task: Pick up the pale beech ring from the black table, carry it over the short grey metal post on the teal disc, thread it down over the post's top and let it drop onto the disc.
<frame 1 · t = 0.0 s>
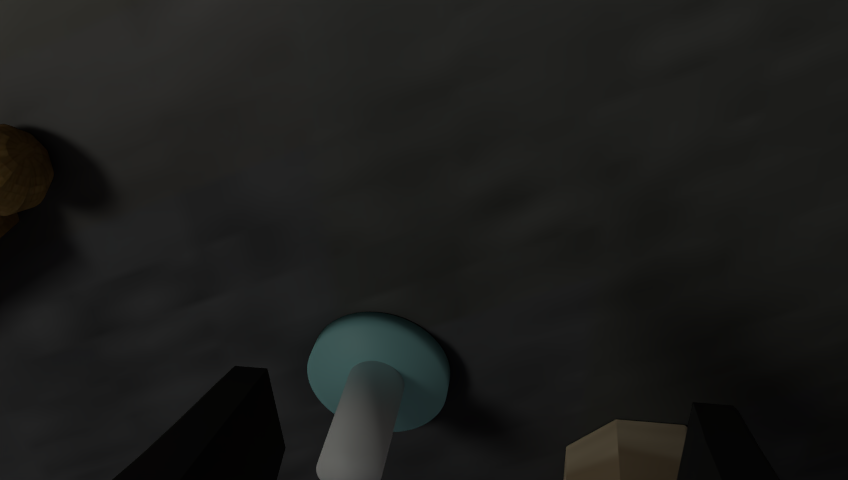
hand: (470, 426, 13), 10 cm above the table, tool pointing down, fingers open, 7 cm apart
post: (381, 366, 26), on the table
ring: (641, 474, 27), on the table
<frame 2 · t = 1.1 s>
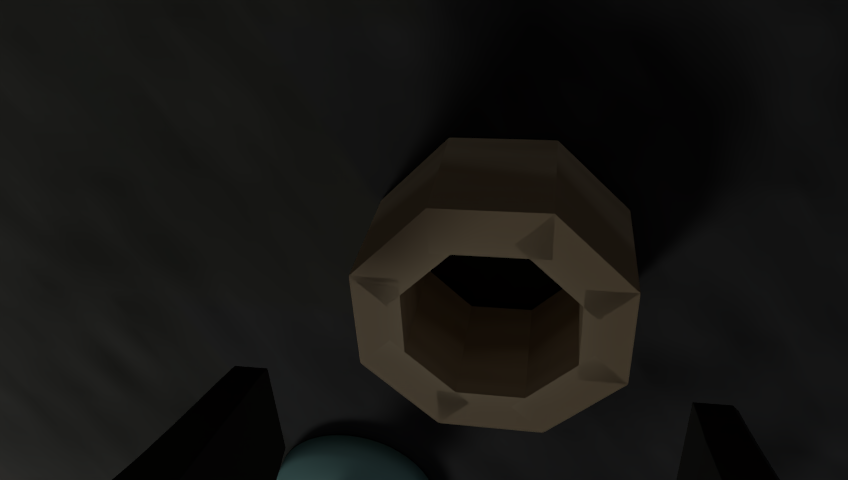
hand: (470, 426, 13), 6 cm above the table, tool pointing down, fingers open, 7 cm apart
ring: (501, 247, 17), on the table
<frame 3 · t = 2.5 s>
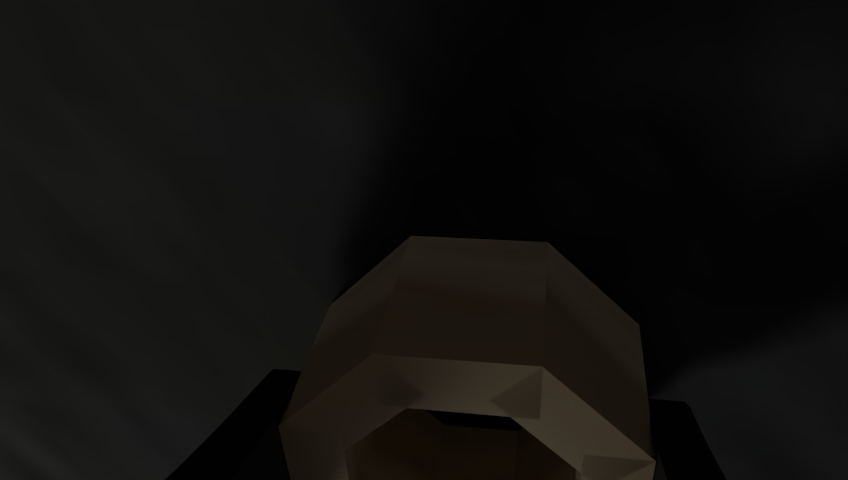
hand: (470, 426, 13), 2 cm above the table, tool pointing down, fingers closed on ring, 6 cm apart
ring: (480, 362, 14), on the table, touching gripper
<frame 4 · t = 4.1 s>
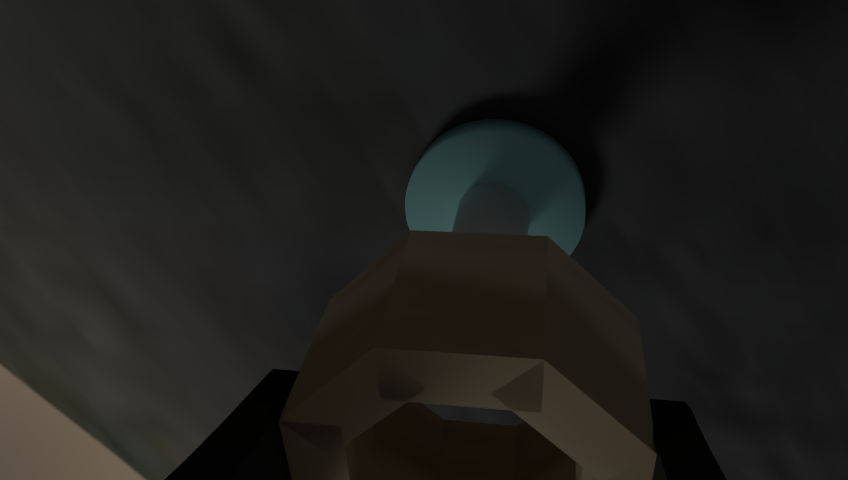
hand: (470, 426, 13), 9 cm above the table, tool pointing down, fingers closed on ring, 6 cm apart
post: (495, 199, 21), on the table
ring: (479, 356, 14), point 8 cm above the table, touching gripper
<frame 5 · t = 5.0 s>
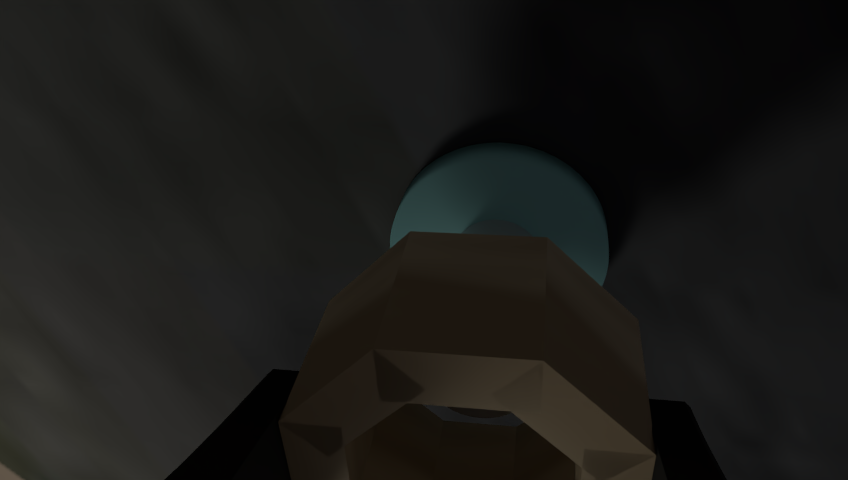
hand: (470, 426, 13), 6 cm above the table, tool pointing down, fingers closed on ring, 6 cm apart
post: (499, 237, 17), on the table
ring: (479, 357, 14), point 4 cm above the table, touching gripper
when the fingers open (5 cm above the table, at t = 5.8 s): ring drops 3 cm, resting on post.
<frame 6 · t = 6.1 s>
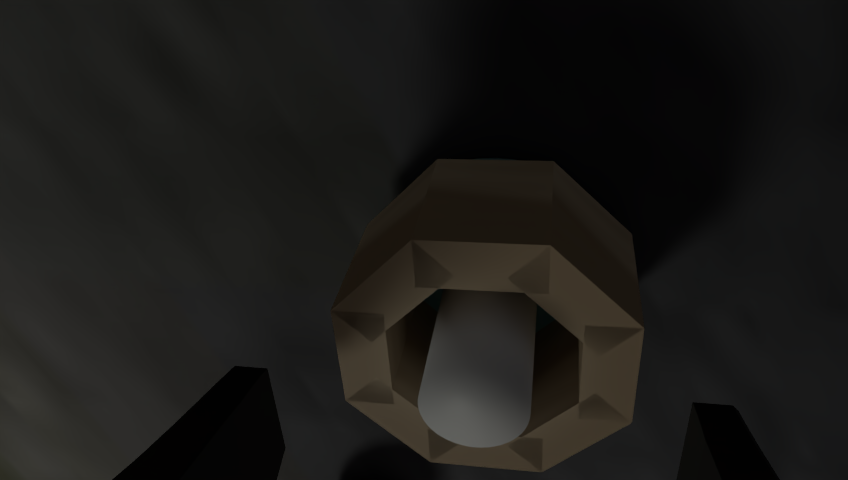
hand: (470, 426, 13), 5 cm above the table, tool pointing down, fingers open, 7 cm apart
post: (495, 255, 17), on the table
ring: (496, 273, 16), point 1 cm above the table, touching post
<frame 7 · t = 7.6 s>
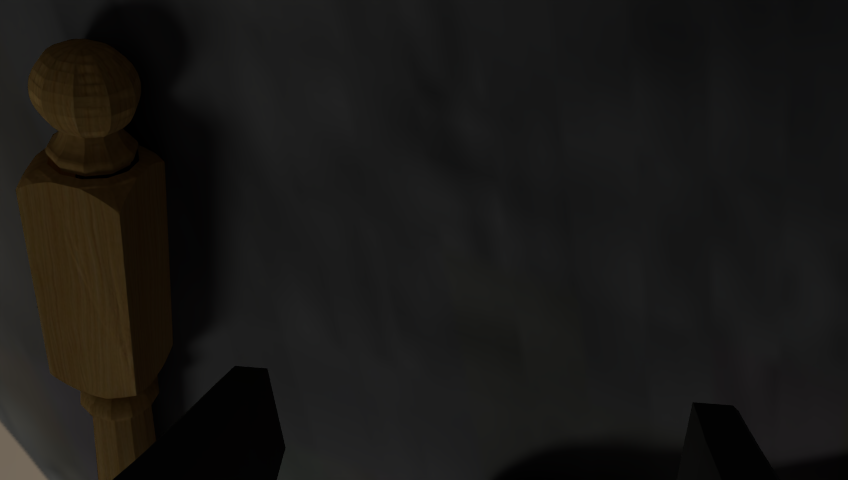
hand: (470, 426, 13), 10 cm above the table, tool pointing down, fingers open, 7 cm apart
tap handle: (144, 386, 29), on the table
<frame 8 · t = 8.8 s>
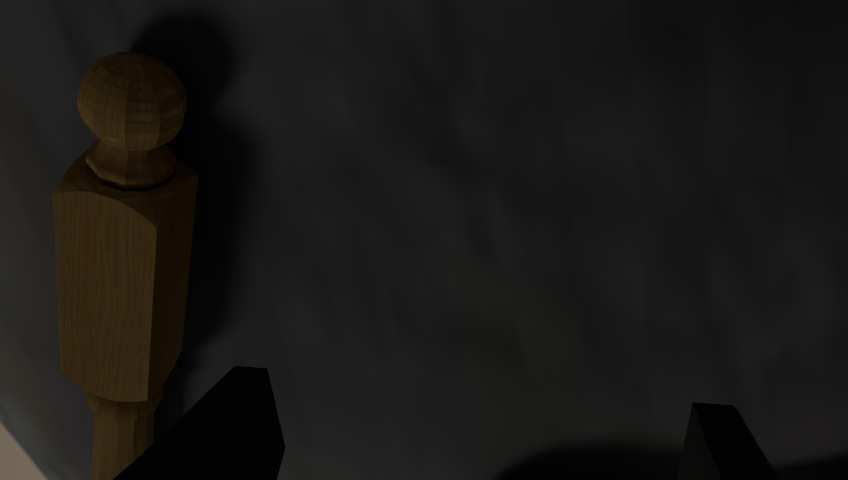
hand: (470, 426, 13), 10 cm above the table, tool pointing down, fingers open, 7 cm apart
tap handle: (145, 386, 29), on the table
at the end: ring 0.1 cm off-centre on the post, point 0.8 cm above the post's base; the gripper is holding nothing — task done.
